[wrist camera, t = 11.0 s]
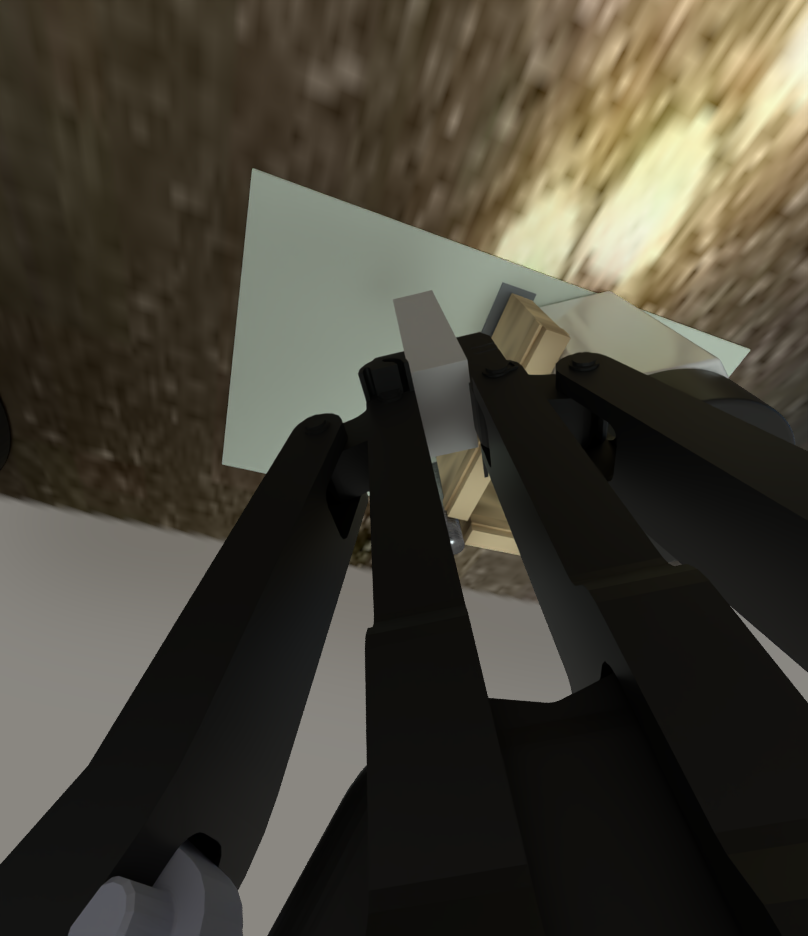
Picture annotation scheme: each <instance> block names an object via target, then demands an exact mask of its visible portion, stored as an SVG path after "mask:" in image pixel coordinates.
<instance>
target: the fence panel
mask: <svg viewBox="0 0 808 936" xmlns="http://www.w3.org/2000/svg"><path fill="white" fill-rule="evenodd" d="M569 336H570V335H569V334H568V333H567V332H566V331H565V330H564V329H562V328H560V327H559V326H558V325H557V324H556V323H555V322H554V321H553V320H552V319H551V318H550V317H549V316H548V315H546V314H545V313H544V312H543V311H542V310H541V309H540V308H539V307H538V306H537V305H536V304H535V303H534V302H533V301H532V300H529V299H527V298H524V297H521V296H519V295H516V294H513V293H512V294H511V296H510V298H509V300H508V302H507V304H506V307H505V309H504V311H503V313H502V315H501V318H500V320H499V322H498V324H497V326H496V328H495V331H494V333H493V335H492V337H491V338H492V340H493V341H494V343H495V344H496V346H497V347H498V349H499V350H500V351H501V353H502V354H503V356H504V357H505V359H506V360H512V361H515V362H518V363H519V364H521V365H522V366H523V368H524V369H525V370H526V372H527V373H528V374H530V375H545V374H551V372H552V371H553V369H554V367H555V365H556V363H557V362H558V360H559V358H560V356H561V355H562V353H563V351H564V349H565V348H566V346H567V344H568V342H569V341H570V339H571V338H570V337H569ZM477 439H478V446H479V447H477V448H472V449H468V450H463V451H459V452H454V453H450V454H445V455H441V456H437V457H436V459H437V464H438V469H439V474H440V479H441V484H442V489H443V495H444V499H443V506H444V510H447V515H448V517H453V518H457V519H462V520H466V521H468V519H469V517H470V515H471V514H472V512H473V510H474V508H475V507H476V505H477V503H478V501H479V499H480V498H481V496H482V494H483V492H484V491H485V489H486V487H487V485H488V484H489V482H490V480H491V479H490V476H489V473H488V477H486V478H485V477H484V469H483V461H482V453H481V445H480V440H479V438H478V435H477Z"/></svg>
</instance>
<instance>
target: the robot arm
mask: <svg viewBox="0 0 808 936" xmlns="http://www.w3.org/2000/svg"><path fill="white" fill-rule="evenodd" d="M393 303H394V308H395V312H396V317H397V321H398V326H399V331H400V335H401V340H402V344H403V349H404V351H402V352H398V353H394V354H389V355H385V356H381V357H377V358H374V360H373V361H371V362H369V363H367V364H365V365H364V366H363V367H361V368H360V370H359V372H358V376H359V379H360V383H361V386H362V389H363V393H364V396H365V399H366V411H365V412H364V413H362V414H361V415H359V416H358V417H356V418H354V419H352V420H349V421H347V422H344V423H343V422H342V419H341V418H340V416H339V415H336V414H333V413H323V414H316V415H312V417H311V416H310V417H308V418H306V419H305V420H304V421H302V422H300V423H299V424H298V425H297V426H296V427H295V428H294V429H293V431H292V432H291V434H290V436H289V437H288V439H287V441H286V442H285V444H284V446H283V447H282V449H281V451H280V452H279V454H278V455H277V457H276V459H275V460H274V462H273V464H272V465H271V467H270V469H269V470H268V472H267V473H266V475H265V477H264V478H263V480H262V482H261V483H260V485H259V487H258V488H257V490H256V491H255V493H254V495H253V496H252V498H251V500H250V501H249V503H248V505H247V506H246V508H245V509H244V511H243V513H242V514H241V516H240V518H239V519H238V521H237V523H236V524H235V526H234V528H233V529H232V531H231V532H230V534H229V536H228V537H227V539H226V541H225V542H224V544H223V546H222V547H221V549H220V550H219V552H218V554H217V555H216V557H215V559H214V560H213V562H212V564H211V565H210V567H209V568H208V570H207V572H206V573H205V575H204V577H203V578H202V580H201V582H200V583H199V585H198V586H197V588H196V590H195V591H194V593H193V595H192V596H191V598H190V600H189V601H188V603H187V605H186V606H185V608H184V610H183V611H182V613H181V614H180V616H179V618H178V619H177V621H176V623H175V624H174V626H173V627H172V629H171V631H170V632H169V634H168V636H167V638H166V639H165V641H164V642H163V644H162V646H161V647H160V649H159V650H158V652H157V654H156V655H155V657H154V659H153V660H152V662H151V664H150V665H149V667H148V669H147V670H146V672H145V673H144V675H143V677H142V678H141V680H140V682H139V683H138V685H137V686H136V688H135V690H134V691H133V693H132V695H131V696H130V698H129V700H128V701H127V703H126V704H125V706H124V708H123V709H122V711H121V713H120V715H119V716H118V718H117V719H116V721H115V722H114V724H113V726H112V727H111V729H110V731H109V732H108V734H107V736H106V737H105V739H104V741H103V742H102V744H101V746H100V747H99V749H98V751H97V752H96V754H95V755H94V757H93V759H92V760H91V762H90V763H89V765H88V766H87V767H86V769H85V770H84V771H83V772H82V773H81V774H80V775H79V777H78V778H77V779H76V780H75V781H74V782H73V783H72V785H70V787H69V788H68V789H67V790H66V791H65V792H64V793H63V794H62V796H61V797H60V798H59V799H58V800H57V801H56V802H55V803H54V805H53V806H52V807H51V808H50V809H49V810H48V812H46V814H45V815H44V816H43V817H42V818H41V819H40V820H39V822H38V823H37V824H36V825H35V826H34V827H33V828H32V829H31V831H30V832H29V833H28V834H27V835H26V836H25V837H24V838H23V840H22V841H21V842H20V843H19V844H18V845H17V846H16V847H15V849H14V850H13V851H12V852H11V853H10V854H9V855H8V856H7V858H6V859H5V860H4V861H3V862H2V863H1V864H0V936H243V934H242V933H243V932H242V928H243V917H242V903H241V900H240V896H239V893H238V889H239V887H240V885H241V883H242V881H243V880H244V878H245V876H246V874H247V871H248V869H249V867H250V865H251V862H252V860H253V858H254V855H255V853H256V851H257V849H258V846H259V844H260V842H261V840H262V837H263V835H264V833H265V830H266V827H267V824H268V821H269V818H270V815H271V813H272V810H273V807H274V804H275V801H276V798H277V796H278V792H279V789H280V786H281V783H282V780H283V776H284V773H285V770H286V767H287V763H288V760H289V757H290V754H291V750H292V747H293V744H294V741H295V737H296V734H297V731H298V728H299V724H300V721H301V718H302V715H303V711H304V708H305V705H306V701H307V698H308V695H309V692H310V688H311V685H312V682H313V679H314V676H315V672H316V669H317V666H318V663H319V659H320V656H321V653H322V649H323V646H324V643H325V640H326V636H327V633H328V630H329V626H330V623H331V620H332V617H333V613H334V610H335V607H336V604H337V601H338V597H339V594H340V591H341V588H342V584H343V581H344V578H345V574H346V571H347V568H348V565H349V562H350V558H351V555H352V552H353V549H354V545H355V542H356V539H357V535H358V532H359V529H360V526H361V522H362V519H363V516H364V513H365V509H366V506H367V503H368V494H367V492H370V520H371V547H372V575H373V600H374V625H373V627H371V628H368V629H367V632H366V638H365V639H366V641H365V681H366V742H367V766H366V767H365V768H364V769H363V770H362V771H361V772H360V774H359V775H358V776H357V778H356V779H355V781H354V782H353V783H352V785H351V786H350V788H349V789H348V791H347V792H346V794H345V796H344V798H343V799H342V801H341V803H340V805H339V806H338V809H337V810H336V812H335V814H334V815H333V817H332V819H331V821H330V823H329V825H328V826H327V828H326V830H325V832H324V834H323V836H322V837H321V839H320V841H319V843H318V845H317V847H316V848H315V850H314V852H313V854H312V856H311V857H310V859H309V861H308V863H307V865H306V866H305V868H304V870H303V872H302V874H301V876H300V877H299V879H298V881H297V883H296V885H295V887H294V888H293V890H292V892H291V894H290V896H289V897H288V899H287V901H286V903H285V905H284V906H283V908H282V910H281V913H280V914H279V916H278V917H277V919H276V921H275V923H274V925H273V927H272V928H271V930H270V932H269V934H268V936H808V703H807V701H806V700H805V699H804V698H803V696H802V695H801V694H800V693H799V691H798V690H797V689H796V688H795V686H794V685H793V684H792V683H791V681H790V680H789V679H788V678H787V676H786V675H785V674H784V673H783V671H782V670H781V669H780V668H779V666H778V665H777V664H776V663H775V661H774V660H773V659H772V658H771V657H770V655H769V654H768V653H767V651H766V650H765V649H764V648H763V646H762V645H761V644H760V643H759V642H758V640H757V639H756V638H755V637H754V635H753V634H752V633H751V632H750V631H749V629H748V628H747V627H746V625H745V624H744V623H743V622H742V620H741V619H740V618H739V617H738V615H737V614H736V613H735V612H734V610H733V609H735V610H736V611H737V612H738V613H739V614H740V615H742V616H743V617H744V618H745V619H746V620H747V621H749V622H750V623H751V624H752V625H753V626H754V627H756V628H757V629H758V630H759V631H760V632H761V633H762V634H764V635H765V636H766V637H767V638H768V639H769V640H771V641H772V642H773V643H774V644H775V645H776V646H778V647H779V648H780V649H781V650H782V651H783V652H785V653H786V654H787V655H788V656H789V657H790V658H792V659H793V660H794V661H795V662H796V663H798V664H799V665H800V666H801V667H802V668H803V669H804V670H806V671H807V672H808V451H806V450H804V449H802V448H800V447H798V446H796V445H793V444H791V443H789V442H787V441H785V440H783V439H781V438H779V437H777V436H775V435H772V434H770V433H768V432H766V431H764V430H762V429H760V428H758V427H756V426H753V425H751V424H749V423H747V422H745V421H743V420H741V419H739V418H737V417H735V416H732V415H730V414H728V413H726V412H724V411H722V410H720V409H718V408H716V407H713V406H711V405H709V404H707V403H705V402H703V401H701V400H699V399H697V398H695V397H692V396H690V395H688V394H686V393H684V392H682V391H680V390H678V389H676V388H673V387H671V386H669V385H667V384H665V383H663V382H661V381H659V380H657V379H655V378H652V377H650V376H648V375H646V374H644V373H642V372H640V371H638V370H636V369H633V368H631V367H629V366H627V365H625V364H623V363H621V362H619V361H617V360H615V359H612V358H610V357H608V356H606V355H602V354H599V353H590V352H583V353H581V352H578V353H575V354H572V355H568V356H566V357H564V358H562V359H560V360H559V361H558V362H557V363H556V374H545V375H530V374H528V373H527V372H526V370H525V369H524V368H523V366H522V365H521V364H519V363H518V362H515V361H512V360H506V359H505V357H504V356H503V354H502V353H501V351H500V350H499V349H498V347H497V346H496V344H495V343H494V341H493V340H492V338H491V337H490V336H489V335H486V334H484V333H481V332H477V333H473V334H469V335H464V336H460V337H456V336H455V334H454V332H453V331H452V329H451V327H450V325H449V323H448V321H447V319H446V317H445V315H444V313H443V311H442V309H441V307H440V305H439V303H438V301H437V299H436V297H435V295H434V293H433V291H432V290H430V291H425V292H421V293H417V294H413V295H409V296H405V297H401V298H397V299H393ZM608 423H609V424H610V425H611V426H612V428H613V429H614V431H615V434H616V437H614V436H612V435H611V434H609V433H608V432H607V431H608ZM477 435H478V438H479V440H480V445H481V453H482V461H483V469H484V477H485V478H486V477H488V473H489V476H490V479H491V481H492V484H493V486H494V489H495V491H496V494H497V496H498V499H499V502H500V504H501V507H502V509H503V512H504V514H505V517H506V519H507V522H508V525H509V527H510V530H511V532H512V535H513V537H514V540H515V542H516V545H517V548H518V550H519V553H520V555H521V558H522V560H523V563H524V565H525V568H526V571H527V573H528V576H529V578H530V581H531V583H532V586H533V588H534V591H535V594H536V596H537V599H538V601H539V604H540V606H541V609H542V611H543V614H544V616H545V619H546V622H547V624H548V627H549V629H550V632H551V634H552V636H553V639H554V642H555V645H556V647H557V650H558V652H559V655H560V657H561V660H562V662H563V665H564V668H565V670H566V673H567V676H568V679H569V682H570V686H571V690H572V694H571V695H569V696H567V697H565V698H564V699H562V700H559V701H557V702H552V703H541V702H530V701H518V700H506V699H494V698H488V696H487V691H486V687H485V682H484V678H483V674H482V670H481V666H480V661H479V657H478V653H477V649H476V645H475V640H474V636H473V632H472V628H471V624H470V620H469V616H468V612H467V609H466V605H465V601H464V597H463V593H462V589H461V584H460V580H459V576H458V572H457V567H456V563H455V559H454V555H453V551H452V546H451V542H450V538H449V534H448V529H447V525H446V521H445V517H444V512H443V508H442V504H441V500H440V495H439V491H438V487H437V483H436V479H435V474H434V470H433V466H432V462H431V458H432V457H436V456H441V455H445V454H450V453H454V452H459V451H463V450H468V449H472V448H477V447H479V446H478V439H477ZM9 448H10V431H9V425H8V421H7V418H6V415H5V412H4V409H3V407H2V405H1V402H0V470H1V468H2V467H3V465H4V464H5V461H6V459H7V456H8V453H9ZM645 533H646V534H647V535H649V536H650V537H651V538H652V539H653V540H654V541H655V542H657V543H658V544H659V545H660V546H661V547H662V548H664V549H665V550H666V551H667V552H668V553H669V554H671V555H672V556H673V557H674V558H675V559H676V560H678V561H679V562H680V563H681V564H682V565H678V566H672V565H671V564H669V563H668V562H667V561H666V560H665V559H664V558H663V557H662V556H661V554H660V553H659V551H658V550H657V549H656V547H655V546H654V545H653V543H652V542H651V541H650V539H649V538H648V536H647V535H646V534H645ZM730 606H731V607H732V608H733V609H732V608H731V607H730Z"/></svg>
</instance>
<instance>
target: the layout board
mask: <svg viewBox="0 0 808 936" xmlns="http://www.w3.org/2000/svg"><path fill="white" fill-rule="evenodd" d="M430 290H432V291H433V293H434V295H435V297H436V299H437V301H438V303H439V305H440V307H441V309H442V311H443V313H444V315H445V317H446V319H447V321H448V323H449V325H450V327H451V329H452V331H453V332H454V334H455V336H456V337H460V336H464V335H469V334H473V333H477V332H481V333H484V334H486V335H489V336H490V337H492V335H493V333H494V331H495V328H496V326H497V324H498V322H499V320H500V318H501V315H502V313H503V311H504V309H505V307H506V304H507V302H508V300H509V298H510V296H511V294H512V293H513V294H516V295H519V296H521V297H524V298H527V299H529V300H532V301H533V302H534V303H535V304H536V305H537V306H538V307H542V306H547V305H551V304H555V303H560V302H564V301H568V300H572V299H577V298H581V297H585V296H590V295H594V294H598V293H595V292H592V291H590V290H587V289H584V288H581V287H579V286H576V285H573V284H570V283H568V282H565V281H562V280H559V279H557V278H554V277H551V276H548V275H546V274H543V273H540V272H537V271H535V270H532V269H529V268H526V267H524V266H521V265H518V264H515V263H513V262H510V261H507V260H504V259H502V258H499V257H496V256H493V255H491V254H488V253H485V252H482V251H480V250H477V249H474V248H472V247H469V246H466V245H463V244H461V243H458V242H455V241H452V240H450V239H447V238H444V237H441V236H439V235H436V234H433V233H430V232H428V231H425V230H422V229H419V228H417V227H414V226H411V225H408V224H406V223H403V222H400V221H397V220H395V219H392V218H389V217H386V216H384V215H381V214H378V213H375V212H373V211H370V210H367V209H364V208H362V207H359V206H356V205H353V204H351V203H348V202H345V201H342V200H340V199H337V198H334V197H331V196H329V195H326V194H323V193H320V192H318V191H315V190H312V189H309V188H307V187H304V186H301V185H299V184H296V183H293V182H290V181H288V180H285V179H282V178H279V177H277V176H274V175H271V174H268V173H266V172H263V171H260V170H257V169H255V168H252V176H251V185H250V195H249V205H248V215H247V224H246V234H245V244H244V254H243V263H242V273H241V283H240V293H239V303H238V312H237V322H236V332H235V342H234V351H233V361H232V371H231V381H230V391H229V400H228V410H227V420H226V430H225V439H224V449H223V459H222V464H223V465H228V466H232V467H237V468H242V469H246V470H251V471H256V472H260V473H265V474H266V473H267V472H268V470H269V469H270V467H271V465H272V464H273V462H274V460H275V459H276V457H277V455H278V454H279V452H280V451H281V449H282V447H283V446H284V444H285V442H286V441H287V439H288V437H289V436H290V434H291V432H292V431H293V429H294V428H295V427H296V426H297V425H298V424H299V423H300V422H302V421H304V420H305V419H306V418H308V417H310V416H311V417H312V415H316V414H323V413H333V414H336V415H339V416H340V418H341V419H342V422H343V423H344V422H347V421H349V420H352V419H354V418H356V417H358V416H359V415H361V414H362V413H364V412H365V411H366V399H365V396H364V393H363V389H362V386H361V383H360V379H359V376H358V372H359V370H360V368H361V367H363V366H364V365H365V364H367V363H369V362H371V361H373V360H374V358H377V357H381V356H385V355H389V354H394V353H398V352H402V351H404V349H403V344H402V340H401V335H400V331H399V326H398V321H397V317H396V312H395V308H394V303H393V299H397V298H401V297H405V296H409V295H413V294H417V293H421V292H425V291H430ZM641 310H642V309H641ZM642 311H644V312H645V313H647V314H649V315H650V316H652V317H653V318H655V319H657V320H658V321H660V322H661V323H663V324H665V325H666V326H668V327H669V328H671V329H673V330H674V331H676V332H677V333H679V334H681V335H682V336H684V337H685V338H687V339H689V340H690V341H692V342H693V343H695V344H697V345H698V346H700V347H701V348H703V349H705V350H706V351H708V352H710V353H711V354H713V355H714V356H716V357H718V358H719V359H720V360H721V362H722V364H723V366H724V368H725V370H726V373H727V375H728V377H729V376H730V375H731V374H732V372H733V371H734V370H735V369H736V367H737V366H738V365H739V364H740V362H741V361H742V360H743V359H744V357H745V356H746V355H747V354H748V352H749V351H750V349H748V348H746V347H743V346H741V345H738V344H735V343H732V342H730V341H727V340H724V339H721V338H719V337H716V336H713V335H710V334H708V333H705V332H702V331H699V330H697V329H694V328H691V327H688V326H686V325H683V324H680V323H677V322H675V321H672V320H669V319H666V318H664V317H661V316H658V315H655V314H653V313H650V312H647V311H645V310H642ZM436 457H437V456H436ZM436 457H432V458H431V462H432V463H433V462H437V459H436ZM367 494H368V496H370V492H367Z"/></svg>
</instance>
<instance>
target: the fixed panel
mask: <svg viewBox="0 0 808 936" xmlns="http://www.w3.org/2000/svg"><path fill="white" fill-rule="evenodd" d="M459 521H460V526H461V531H462V535H463V540H464V544H465V545H470V546H475V547H480V548H486V549H491V550H496V551H501V552H506V553H511V554H516V555H520V553H519V550H518V548H517V545H516V542H515V540H514V537H513V535H512V532H511V530H510V527H509V525H508V522H507V519H506V517H505V514H504V512H503V509H502V507H501V504H500V502H499V499H498V496H497V494H496V491H495V489H494V486H493V484H492V481H491V480H490V482H489V484H488V485H487V487H486V489H485V491H484V492H483V494H482V496H481V498H480V499H479V501H478V503H477V505H476V507H475V508H474V510H473V512H472V514H471V515H470V517H469V519H468V521H466V520H462V519H459Z"/></svg>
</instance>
